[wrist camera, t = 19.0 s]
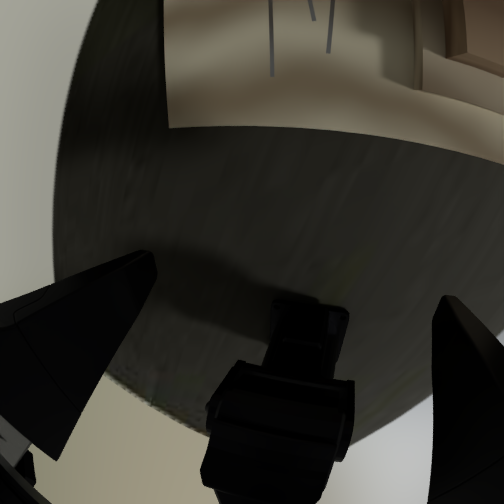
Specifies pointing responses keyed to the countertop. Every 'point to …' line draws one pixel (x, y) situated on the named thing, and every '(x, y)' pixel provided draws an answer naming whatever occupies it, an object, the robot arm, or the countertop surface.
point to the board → (312, 72)
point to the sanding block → (460, 50)
